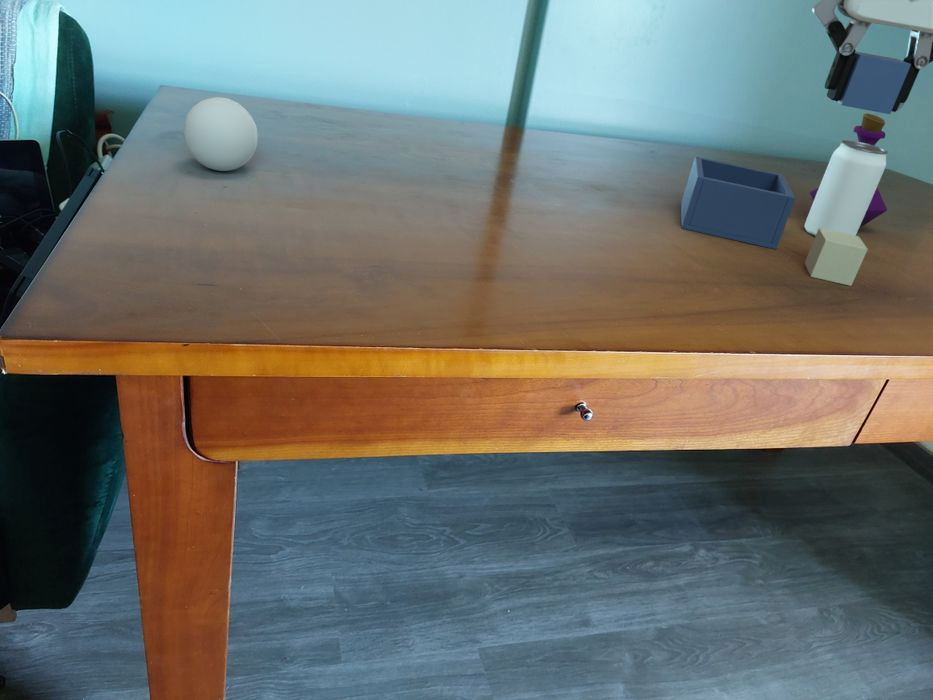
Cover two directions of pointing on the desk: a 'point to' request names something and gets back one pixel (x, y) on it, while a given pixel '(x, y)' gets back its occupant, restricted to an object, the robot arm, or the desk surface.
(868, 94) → the blue block
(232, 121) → the ball
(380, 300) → the desk surface
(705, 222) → the blue bin
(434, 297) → the desk surface
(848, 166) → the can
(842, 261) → the cream block
